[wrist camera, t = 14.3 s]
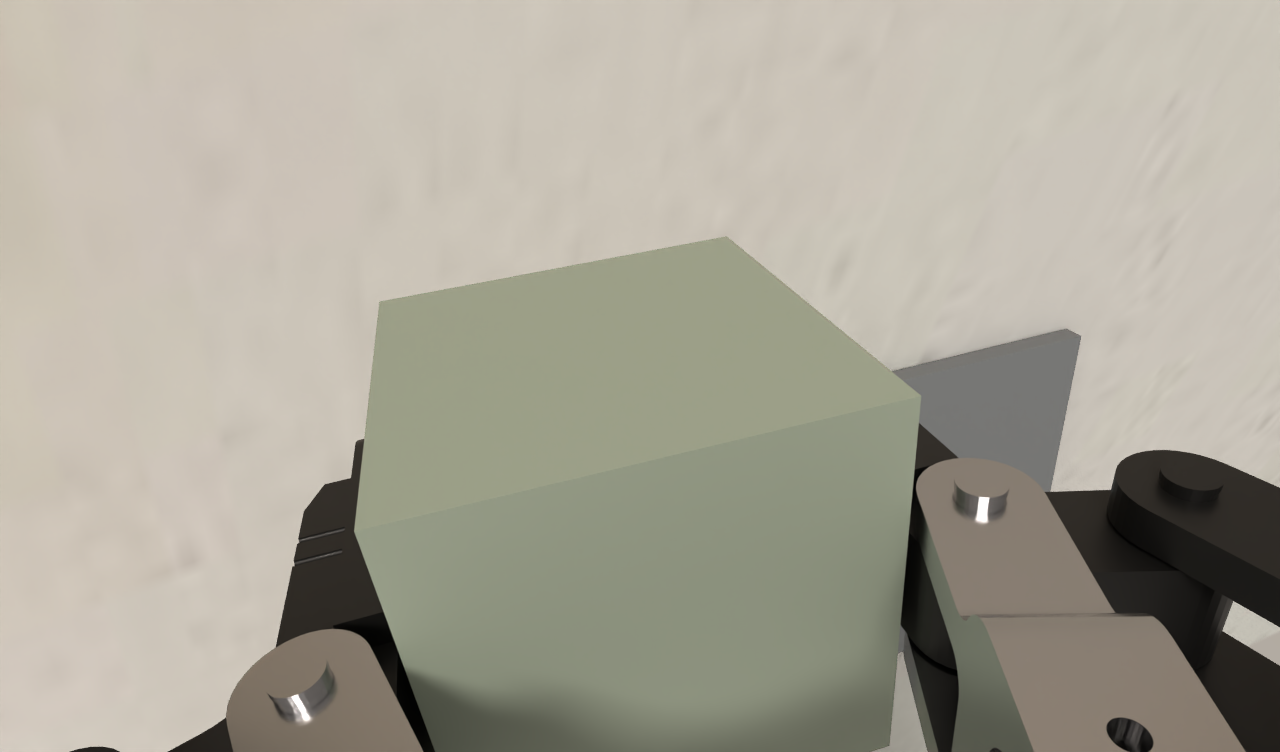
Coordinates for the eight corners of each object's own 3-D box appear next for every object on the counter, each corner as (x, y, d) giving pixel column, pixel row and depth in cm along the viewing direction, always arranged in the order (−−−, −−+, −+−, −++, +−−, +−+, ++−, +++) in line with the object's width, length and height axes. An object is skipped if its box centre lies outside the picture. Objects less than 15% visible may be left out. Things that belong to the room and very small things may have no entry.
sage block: (726, 236, 11) (921, 395, 7) (739, 503, 14) (888, 745, 9) (379, 302, 10) (354, 531, 6) (459, 575, 13) (481, 878, 8)
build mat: (1066, 328, 24) (1083, 337, 24) (1015, 600, 30) (1028, 613, 30) (363, 500, 20) (363, 516, 19) (461, 778, 26) (463, 797, 25)
